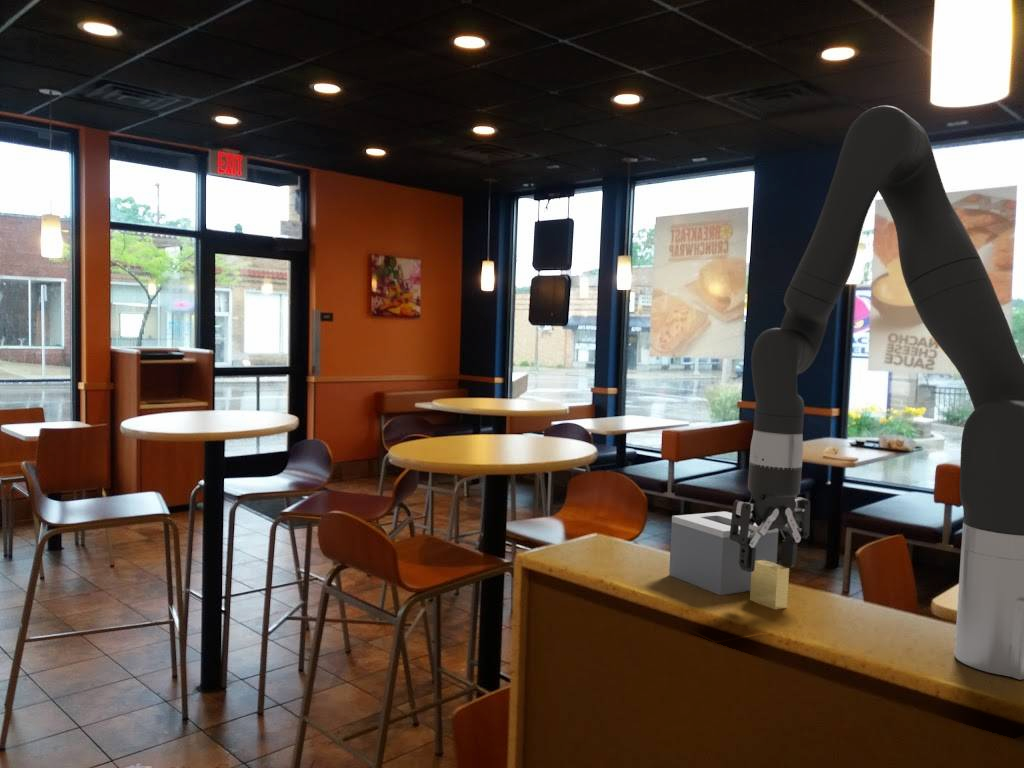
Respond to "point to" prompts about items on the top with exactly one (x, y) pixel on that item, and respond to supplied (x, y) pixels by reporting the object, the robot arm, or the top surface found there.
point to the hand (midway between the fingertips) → (767, 568)
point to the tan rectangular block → (769, 584)
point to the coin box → (713, 552)
